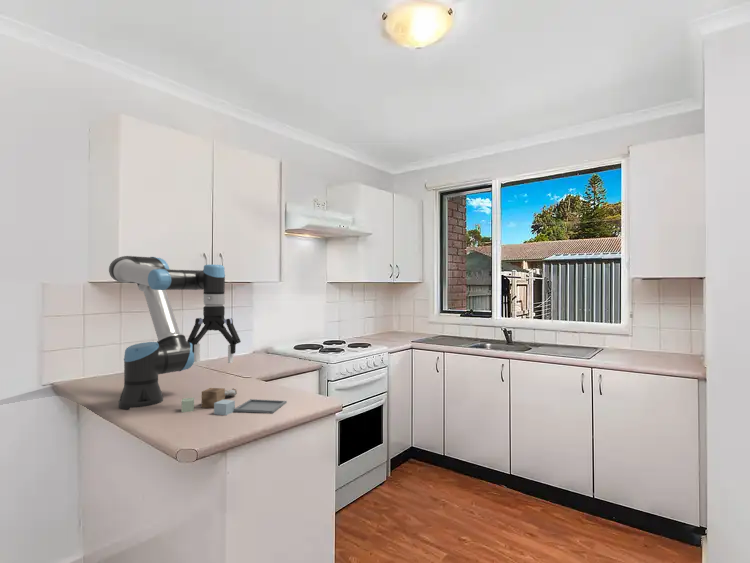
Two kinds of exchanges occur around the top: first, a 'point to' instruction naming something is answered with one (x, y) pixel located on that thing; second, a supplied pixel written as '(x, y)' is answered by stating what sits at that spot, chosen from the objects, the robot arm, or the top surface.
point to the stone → (230, 392)
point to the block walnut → (212, 397)
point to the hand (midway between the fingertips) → (213, 362)
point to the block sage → (187, 404)
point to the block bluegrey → (224, 407)
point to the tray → (260, 406)
